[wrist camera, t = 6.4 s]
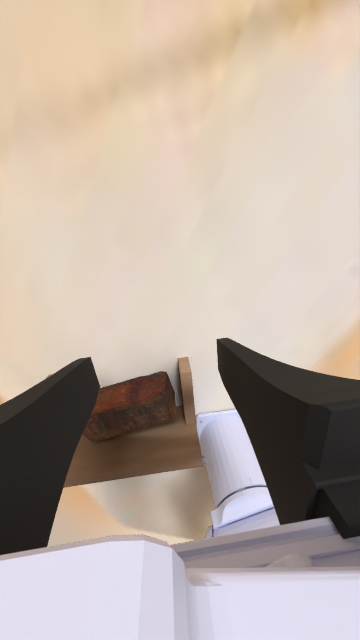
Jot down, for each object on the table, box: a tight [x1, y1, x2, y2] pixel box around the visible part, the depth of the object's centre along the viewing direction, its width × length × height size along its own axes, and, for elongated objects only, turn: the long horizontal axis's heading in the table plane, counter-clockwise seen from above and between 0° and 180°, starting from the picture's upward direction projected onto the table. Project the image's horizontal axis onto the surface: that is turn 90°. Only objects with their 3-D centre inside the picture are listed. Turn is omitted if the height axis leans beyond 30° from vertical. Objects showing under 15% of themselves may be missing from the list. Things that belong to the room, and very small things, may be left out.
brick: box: [82, 372, 176, 442], centre depth 22 cm, size 11×4×5 cm, turn 107°
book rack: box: [46, 357, 203, 488], centre depth 21 cm, size 9×16×7 cm, turn 96°
